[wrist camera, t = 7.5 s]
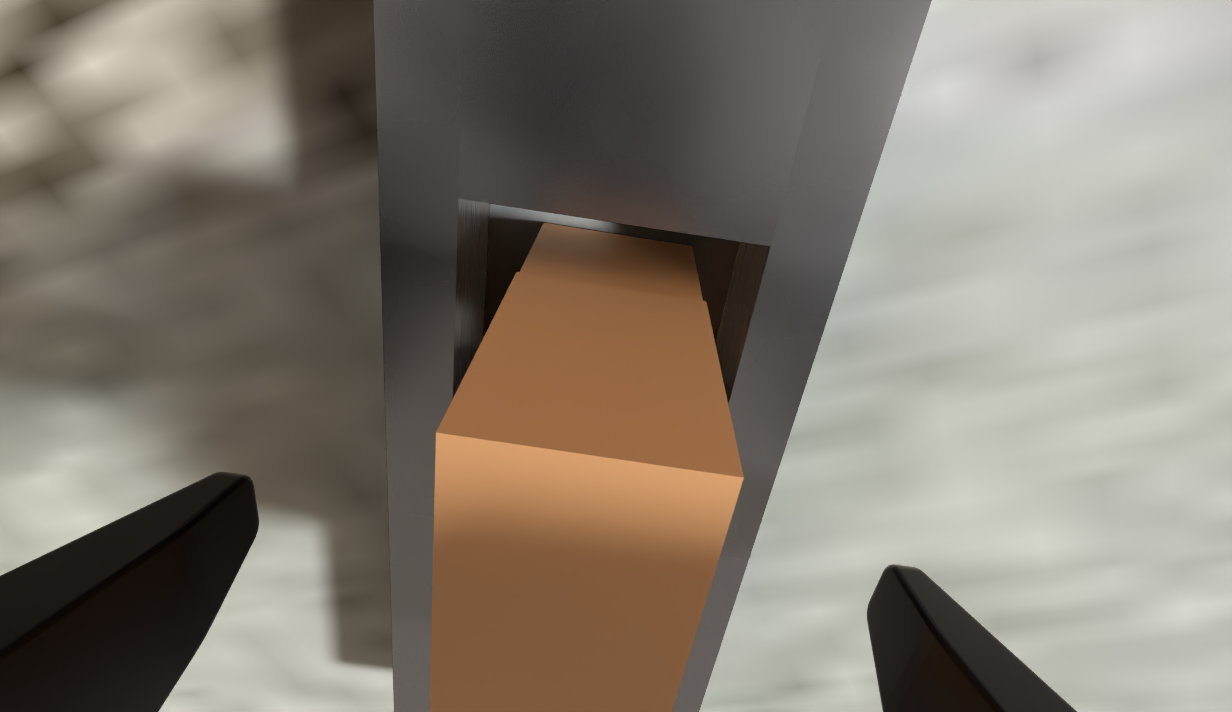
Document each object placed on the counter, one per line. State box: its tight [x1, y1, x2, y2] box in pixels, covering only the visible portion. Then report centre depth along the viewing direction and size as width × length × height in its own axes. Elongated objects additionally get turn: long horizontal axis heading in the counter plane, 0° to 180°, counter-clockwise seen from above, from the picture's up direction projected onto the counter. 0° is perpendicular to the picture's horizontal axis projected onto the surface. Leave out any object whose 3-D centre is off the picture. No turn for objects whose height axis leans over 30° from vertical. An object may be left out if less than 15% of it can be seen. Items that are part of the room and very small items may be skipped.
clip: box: [429, 223, 744, 712], centre depth 9 cm, size 7×2×6 cm, turn 171°
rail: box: [373, 0, 932, 712], centre depth 11 cm, size 16×6×2 cm, turn 172°
